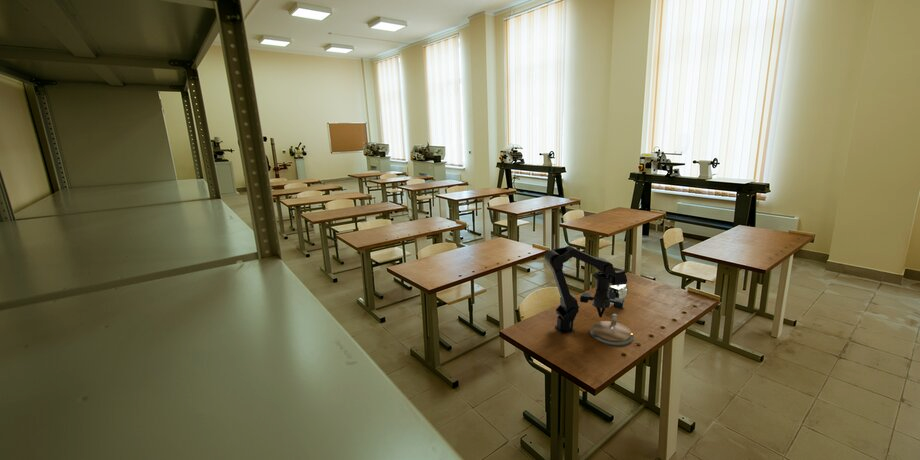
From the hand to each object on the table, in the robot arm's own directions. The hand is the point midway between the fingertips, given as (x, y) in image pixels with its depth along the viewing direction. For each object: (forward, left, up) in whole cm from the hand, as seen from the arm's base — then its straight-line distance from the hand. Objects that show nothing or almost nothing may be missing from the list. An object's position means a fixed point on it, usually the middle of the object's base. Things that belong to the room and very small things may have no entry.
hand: (600, 317), depth 180 cm
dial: (-1, -9, -3) cm, 10 cm away
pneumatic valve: (+20, +14, -4) cm, 25 cm away
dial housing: (-1, -9, -4) cm, 10 cm away
